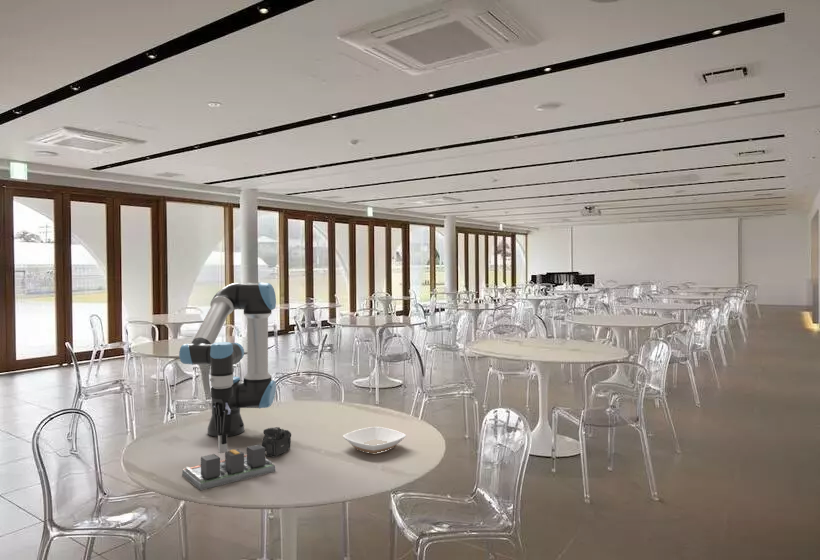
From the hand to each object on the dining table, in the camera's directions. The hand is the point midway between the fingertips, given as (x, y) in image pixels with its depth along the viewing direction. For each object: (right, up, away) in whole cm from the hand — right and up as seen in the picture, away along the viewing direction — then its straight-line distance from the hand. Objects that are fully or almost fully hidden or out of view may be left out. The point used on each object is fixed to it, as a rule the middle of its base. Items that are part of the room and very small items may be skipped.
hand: (222, 452), depth 198 cm
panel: (+4, -5, -6) cm, 9 cm away
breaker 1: (+1, -3, -14) cm, 14 cm away
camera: (+15, -5, +16) cm, 23 cm away
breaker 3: (+13, -3, -4) cm, 14 cm away
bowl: (+53, -5, +21) cm, 57 cm away
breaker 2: (+7, -3, -9) cm, 12 cm away
